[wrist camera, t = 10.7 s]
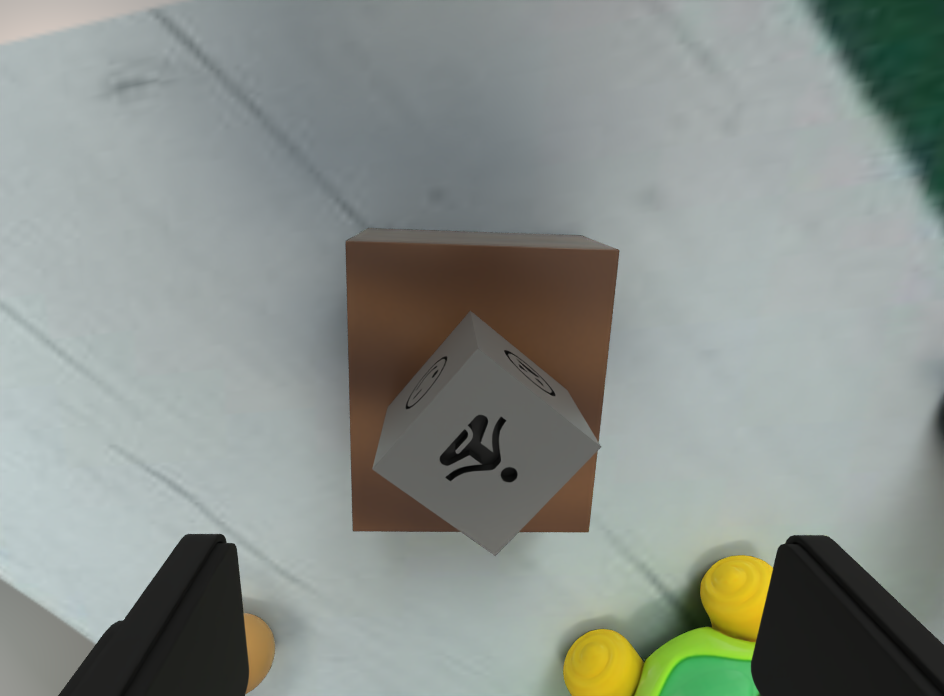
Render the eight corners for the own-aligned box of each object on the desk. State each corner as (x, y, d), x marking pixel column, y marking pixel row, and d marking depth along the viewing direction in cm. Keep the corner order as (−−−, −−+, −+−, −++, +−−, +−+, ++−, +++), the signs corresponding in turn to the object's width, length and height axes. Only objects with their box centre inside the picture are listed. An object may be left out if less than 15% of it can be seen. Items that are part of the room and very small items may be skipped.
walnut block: (367, 228, 26) (345, 240, 20) (581, 235, 26) (619, 249, 21) (370, 463, 29) (352, 531, 24) (561, 465, 30) (589, 532, 24)
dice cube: (470, 310, 21) (477, 348, 16) (567, 390, 22) (600, 447, 17) (387, 407, 22) (371, 469, 17) (484, 478, 23) (495, 556, 18)
